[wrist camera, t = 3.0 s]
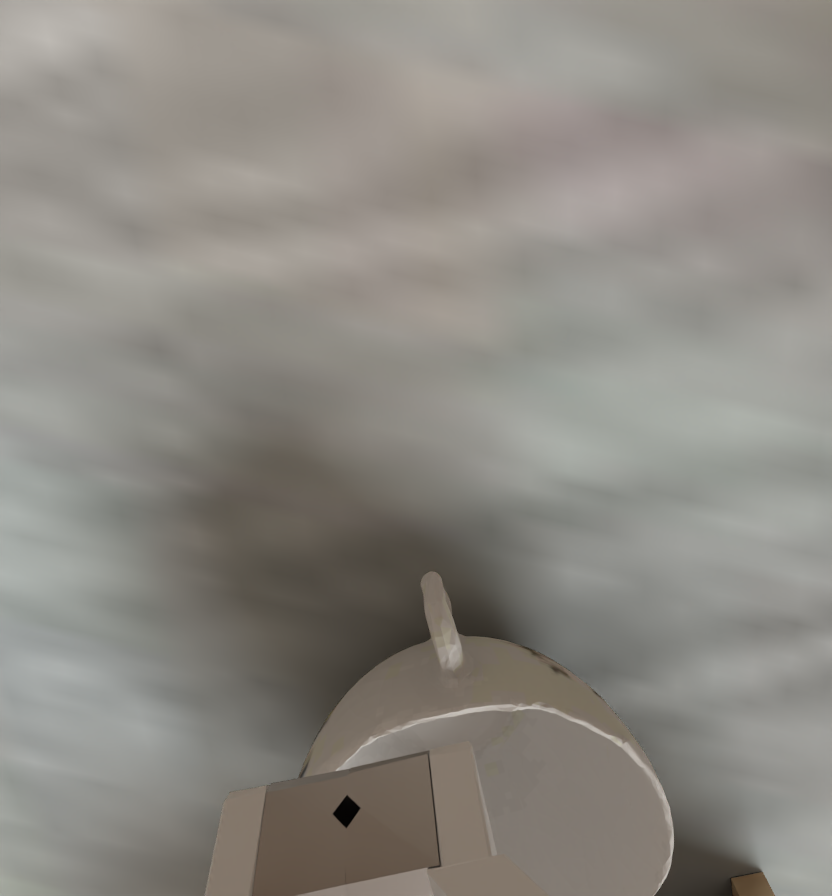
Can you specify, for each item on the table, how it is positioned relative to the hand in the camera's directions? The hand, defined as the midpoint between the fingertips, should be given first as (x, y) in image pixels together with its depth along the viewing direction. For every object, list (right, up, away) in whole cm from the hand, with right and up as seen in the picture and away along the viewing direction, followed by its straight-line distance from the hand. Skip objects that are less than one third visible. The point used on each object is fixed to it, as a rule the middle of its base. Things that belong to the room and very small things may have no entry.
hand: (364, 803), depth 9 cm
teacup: (+2, -5, +22) cm, 22 cm away
